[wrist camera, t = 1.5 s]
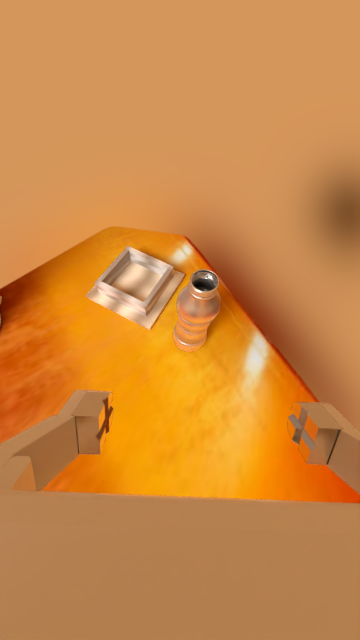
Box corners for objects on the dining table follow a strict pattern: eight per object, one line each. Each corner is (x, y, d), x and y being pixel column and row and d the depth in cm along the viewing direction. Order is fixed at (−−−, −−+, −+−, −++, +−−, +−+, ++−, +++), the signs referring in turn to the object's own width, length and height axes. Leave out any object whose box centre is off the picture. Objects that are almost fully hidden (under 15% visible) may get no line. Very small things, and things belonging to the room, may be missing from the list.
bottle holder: (87, 297, 48) (80, 285, 44) (128, 251, 54) (125, 237, 50) (150, 330, 45) (148, 320, 41) (184, 277, 52) (186, 264, 48)
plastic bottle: (166, 333, 45) (168, 270, 27) (195, 320, 47) (214, 254, 29) (181, 360, 43) (193, 311, 25) (210, 346, 44) (241, 290, 27)
